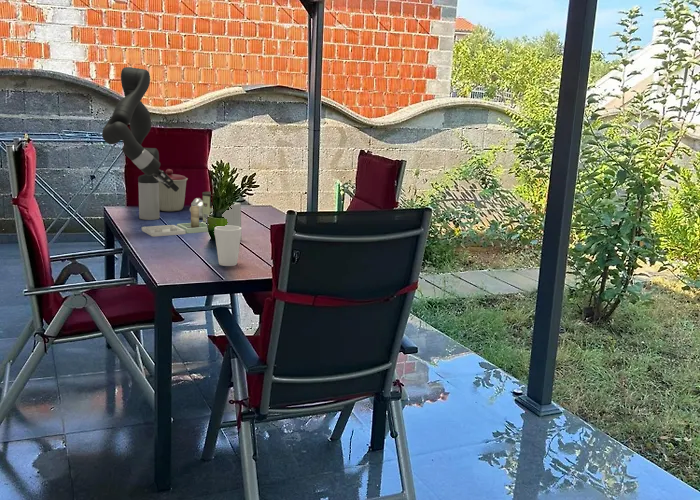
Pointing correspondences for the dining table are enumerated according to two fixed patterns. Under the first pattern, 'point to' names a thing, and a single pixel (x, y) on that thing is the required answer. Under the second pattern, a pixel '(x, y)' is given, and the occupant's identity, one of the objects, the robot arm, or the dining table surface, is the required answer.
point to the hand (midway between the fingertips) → (173, 188)
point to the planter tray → (193, 230)
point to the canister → (172, 193)
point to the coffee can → (207, 205)
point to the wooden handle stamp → (194, 217)
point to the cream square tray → (165, 230)
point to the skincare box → (233, 215)
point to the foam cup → (227, 244)
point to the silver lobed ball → (199, 203)
